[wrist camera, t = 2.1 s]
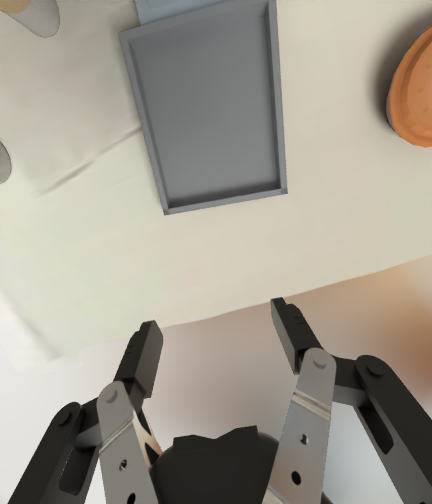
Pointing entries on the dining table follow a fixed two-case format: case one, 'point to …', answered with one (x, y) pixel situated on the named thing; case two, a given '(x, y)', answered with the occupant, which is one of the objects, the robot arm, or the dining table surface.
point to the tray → (211, 104)
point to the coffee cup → (34, 15)
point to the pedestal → (169, 8)
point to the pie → (413, 93)
